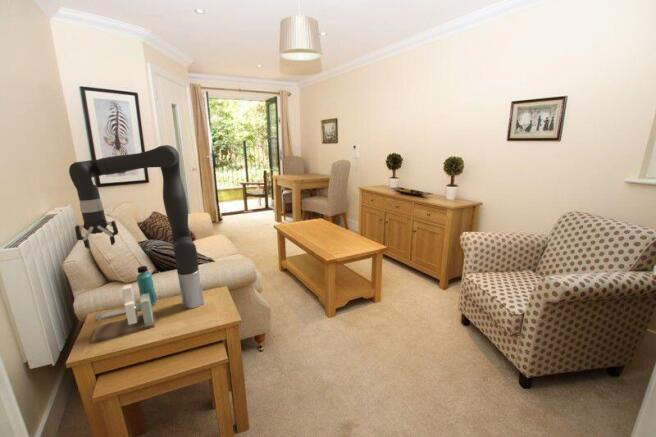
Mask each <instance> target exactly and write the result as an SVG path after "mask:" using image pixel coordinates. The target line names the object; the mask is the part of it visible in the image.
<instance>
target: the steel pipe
mask: <svg viewBox="0 0 656 437" xmlns="http://www.w3.org/2000/svg"><path fill="white" fill-rule="evenodd" d="M135 310H136V311H138V312H139V311H142V309H141V304H140V303H139V304H137V305H136V306H135ZM122 315H126V310H125V307H124V308H120V309H113V310H111V311H106V312H102V313H98V314H95V320H96V321H100V320H105V319H108V318H110V319H111V318H114V317H118V316H122Z"/></svg>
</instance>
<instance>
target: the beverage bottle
mask: <svg viewBox="0 0 656 437" xmlns="http://www.w3.org/2000/svg"><path fill="white" fill-rule="evenodd" d="M148 271H149V269H148V266H146V265H143V266H142V265H141V266H139V267H137V273H138V275H137V276H136V281H137V286H138V292H139V297H140V299H141V294H146V293H149V295H150V300H151V305H153V304H155V303H156V302H157V295H156V291H155V283H154V281H153V277H152V276H153V275H152V273H150V272H148Z"/></svg>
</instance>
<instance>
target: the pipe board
mask: <svg viewBox="0 0 656 437" xmlns="http://www.w3.org/2000/svg"><path fill="white" fill-rule="evenodd" d="M155 325H156V312H155V311H153V323H149V324H145V323H144V318H143V314H140V315H138V320H137V323H134V324H130V325H129V324H128V319H127V318H124V319H121V320H116V321H113V322H108V323H104V324H99V325H96V327H95V329H94V332H93V335H92V338H91V343H92V344H96V343H99V342H103V341H107V340H111V339H114V338H115V339H116V338H119V337H122V336H125V335H130V334H134V333H137V332H138V333H139V332H140V331H144V330H145V331H146V330H149V329H152V328H155V327H156V326H155Z"/></svg>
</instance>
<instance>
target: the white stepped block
mask: <svg viewBox="0 0 656 437" xmlns="http://www.w3.org/2000/svg"><path fill="white" fill-rule="evenodd" d="M121 290H122V291H121V292H122V296H123V299H124V304H123V305H124V308H125V310H126V314H125V315H126V319H128V324H129V325H130V324H134V323H137V320H138V316H139V313H140V312H139V311H136V310H135V306H136V305H138V304H137V299H136V294H134V289H133V285H132V284H124V285H123V286H122V289H121Z"/></svg>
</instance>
